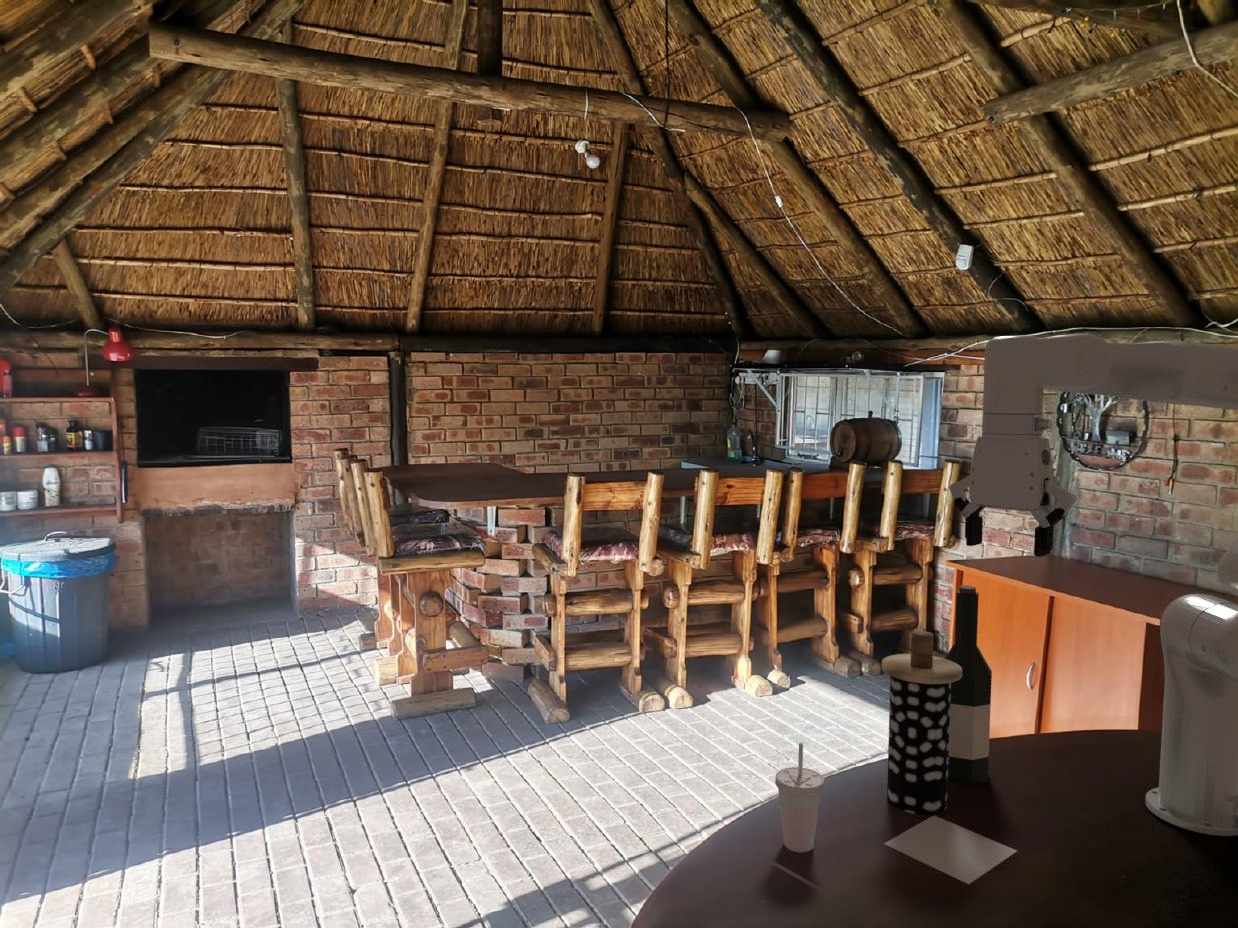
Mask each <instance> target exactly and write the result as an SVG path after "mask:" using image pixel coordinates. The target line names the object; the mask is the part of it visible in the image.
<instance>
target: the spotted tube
mask: <svg viewBox="0 0 1238 928" xmlns="http://www.w3.org/2000/svg"><path fill="white" fill-rule="evenodd" d="M889 677H890V678H889V709H888V710H889V712H888V713H889V716H888V717H889V718H888V747H887V748H888V749H887V750H888V751H887V785H886V786H887V787H886V798H887V799H886V800H887V801H888V802H889V803H890V805H891V806H893V807H894V808H897V809H898V810H899V811H903V812H906V813H908V814H909V813H910V814H914V815H919V816H920V815H921V816H931V815H933V816H935V815H938V814H942V813H943V812H944V811H946V809H947V808H948V788H949V787H948V786H949V785H948V783H949V780H948V762H949V732H950V702H951V683H946V684H923V683H915V682H909V681H904V680H901V679H897V678H895V677H892V676H890V675H889Z"/></svg>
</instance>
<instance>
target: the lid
mask: <svg viewBox="0 0 1238 928" xmlns="http://www.w3.org/2000/svg"><path fill="white" fill-rule="evenodd" d="M934 635H935V634H934V633H932V632H930V631H925V630H914V631H911V638H910V639H911V641H910V653H896V654H893V655H891V654H890V655H888V656H886V657H884V658H883V659H882V660H881V670H882V671H883V673H885V674H887V675H888V676H889V677H890V676H892V677H895V678H897V679H901V680H904V681H909V682H915V683H923V684H946V683H952V682H956V681H958V680H960V679H961V678H962V668H961V666H959V665H958V664H957V663H955V662H952V661H950V660H947V659H944V658H945V657H940V656H936V655H935V656H934Z"/></svg>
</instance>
